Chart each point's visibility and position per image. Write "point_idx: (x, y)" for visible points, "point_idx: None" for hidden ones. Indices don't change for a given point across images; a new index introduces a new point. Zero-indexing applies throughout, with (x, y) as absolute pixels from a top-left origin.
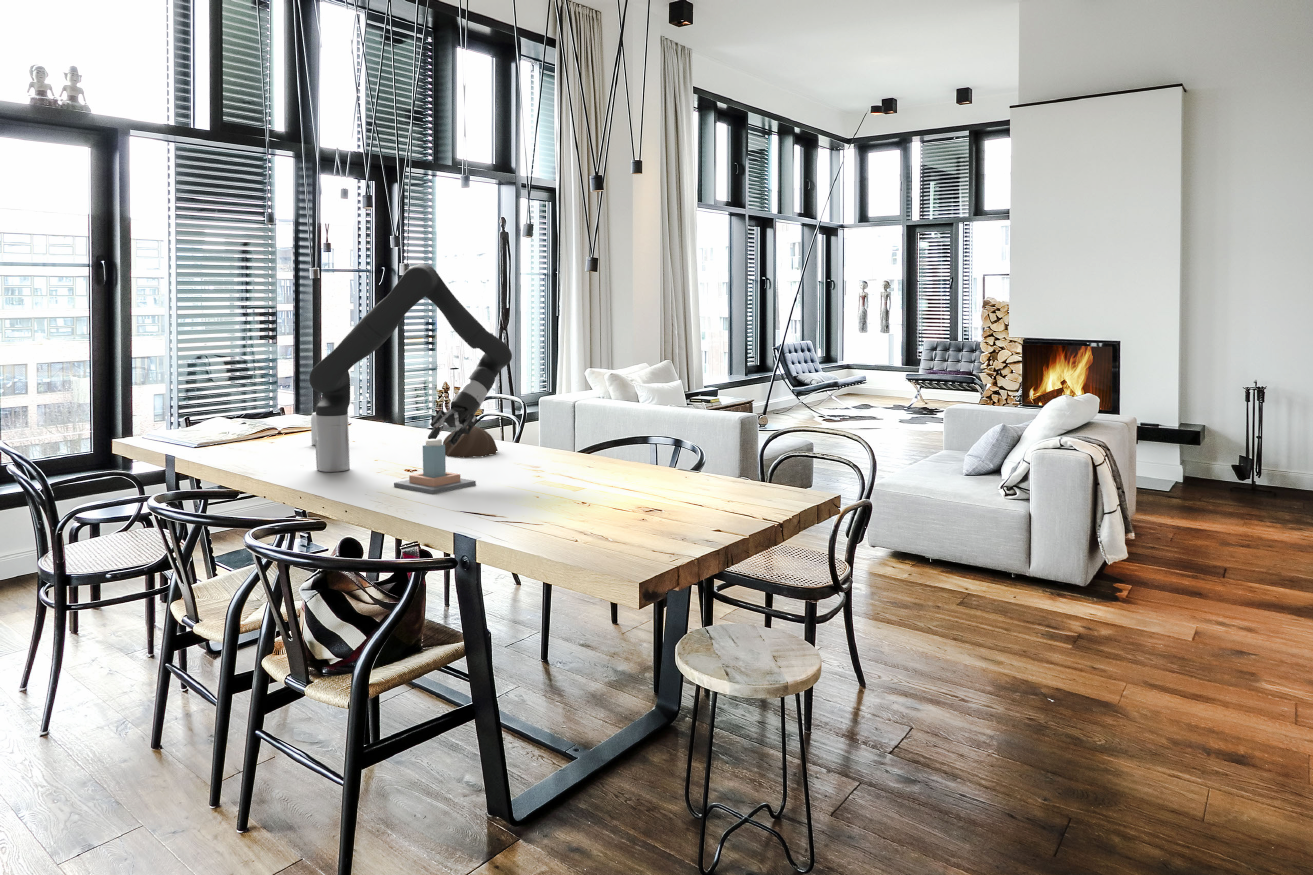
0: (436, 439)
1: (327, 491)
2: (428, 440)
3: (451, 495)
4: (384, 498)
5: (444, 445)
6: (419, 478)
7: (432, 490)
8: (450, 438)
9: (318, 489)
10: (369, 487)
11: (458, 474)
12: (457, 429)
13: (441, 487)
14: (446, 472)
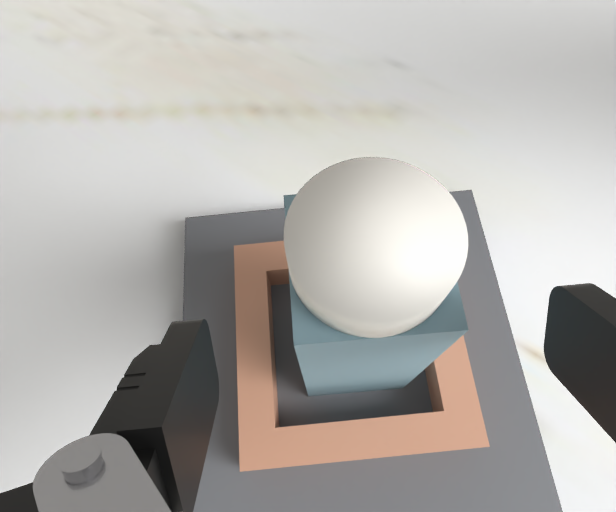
0: (392, 279)
1: (543, 9)
2: (384, 178)
3: (101, 267)
4: (281, 71)
5: (294, 337)
6: None
7: (190, 219)
8: (179, 332)
9: (602, 5)
10: (523, 130)
11: (244, 457)
12: (87, 449)
13: (193, 274)
14: (365, 444)
